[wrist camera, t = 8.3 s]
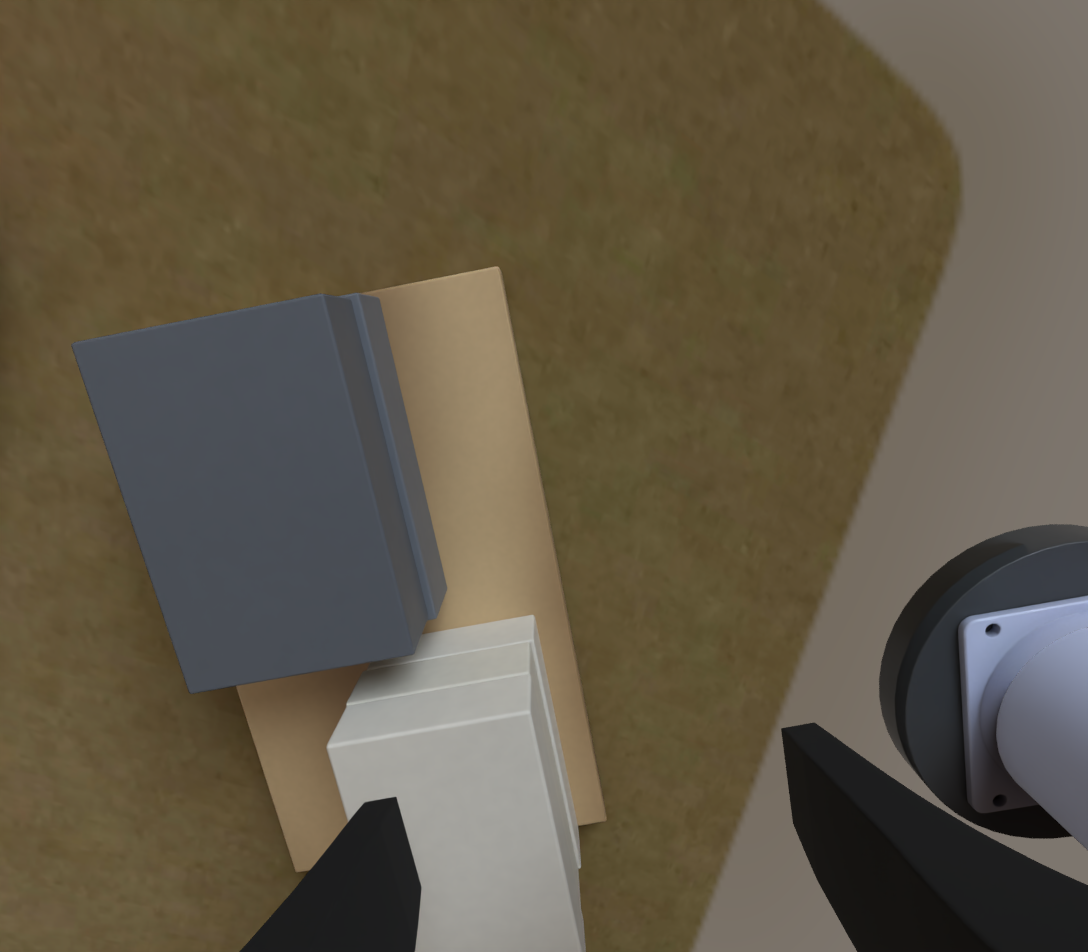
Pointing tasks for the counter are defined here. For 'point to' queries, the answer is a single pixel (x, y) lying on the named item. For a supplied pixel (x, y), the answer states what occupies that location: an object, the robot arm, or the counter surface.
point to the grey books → (270, 486)
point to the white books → (474, 661)
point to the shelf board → (445, 546)
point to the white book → (469, 812)
